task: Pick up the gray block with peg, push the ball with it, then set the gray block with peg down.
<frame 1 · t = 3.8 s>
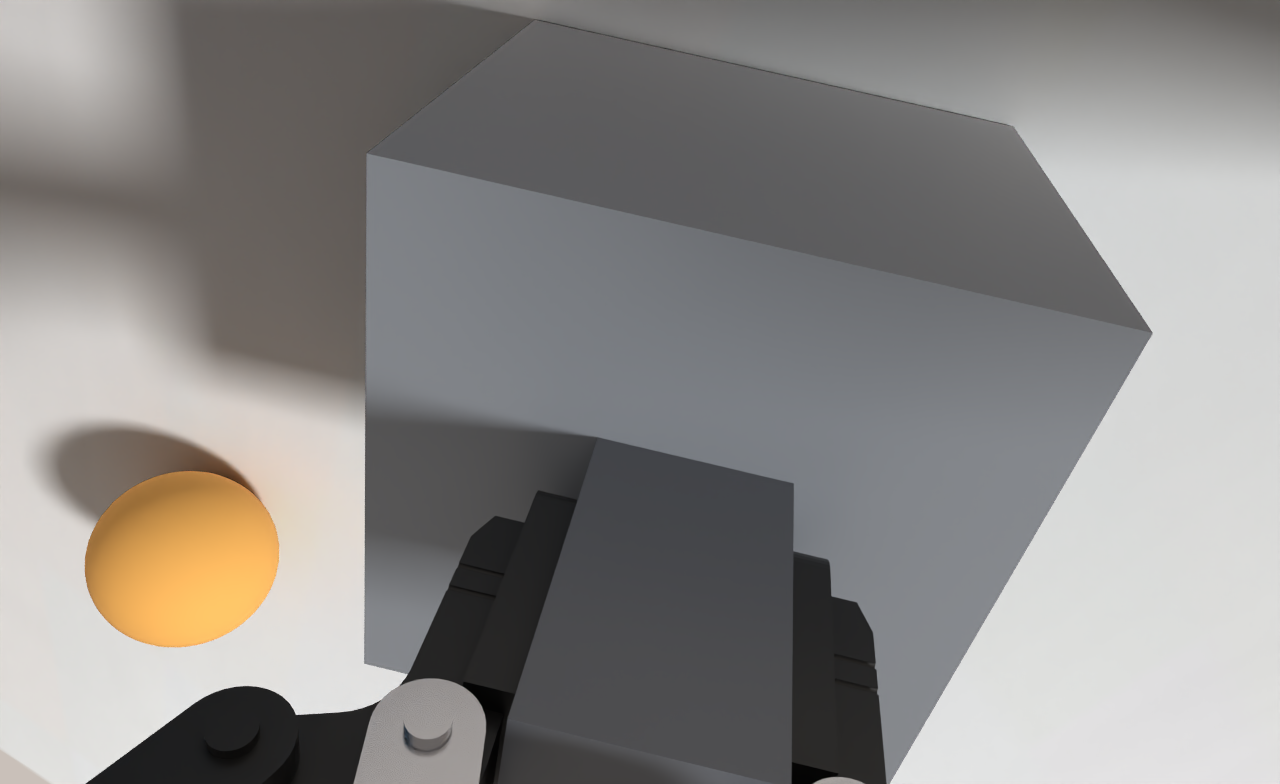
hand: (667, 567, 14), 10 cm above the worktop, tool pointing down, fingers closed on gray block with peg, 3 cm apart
gray block with peg: (717, 287, 21), on the worktop, touching gripper
ball: (186, 557, 26), on the worktop
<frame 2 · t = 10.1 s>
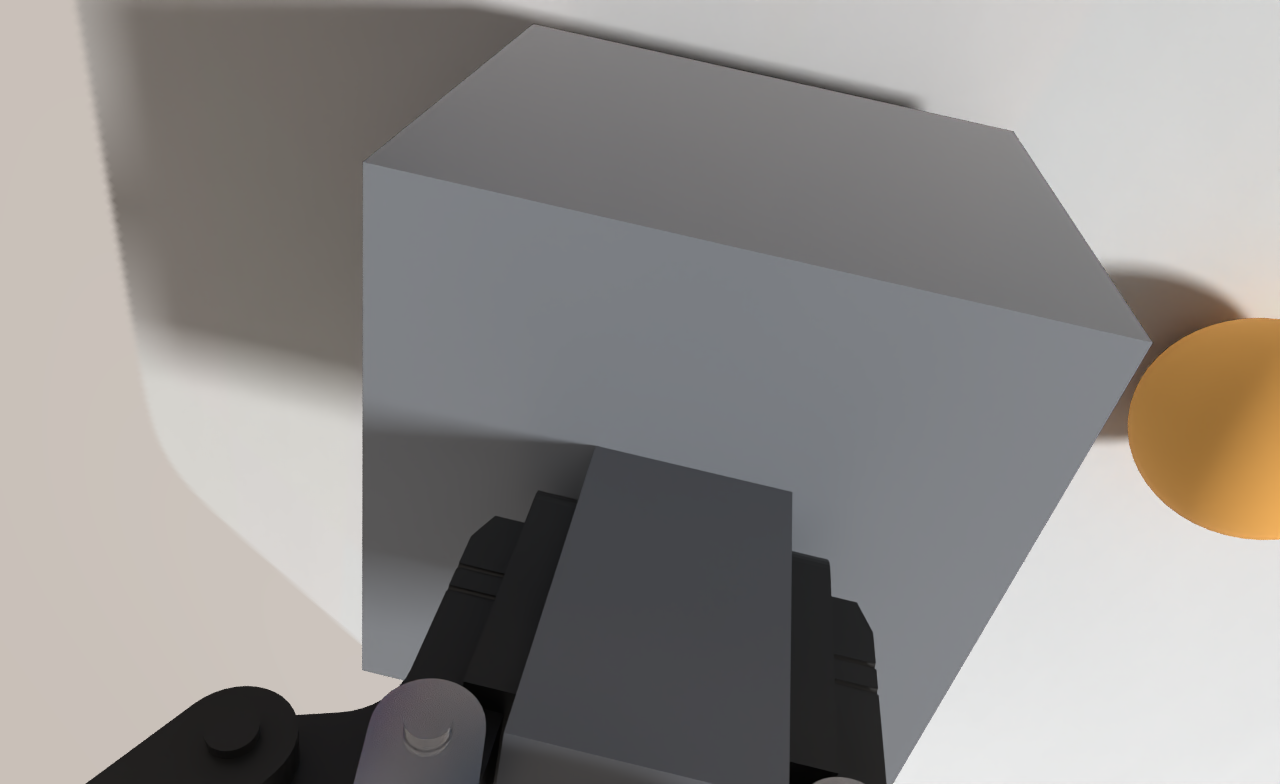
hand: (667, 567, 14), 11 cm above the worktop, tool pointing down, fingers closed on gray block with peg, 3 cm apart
gray block with peg: (716, 291, 21), point 2 cm above the worktop, touching gripper
ball: (1253, 428, 20), on the worktop
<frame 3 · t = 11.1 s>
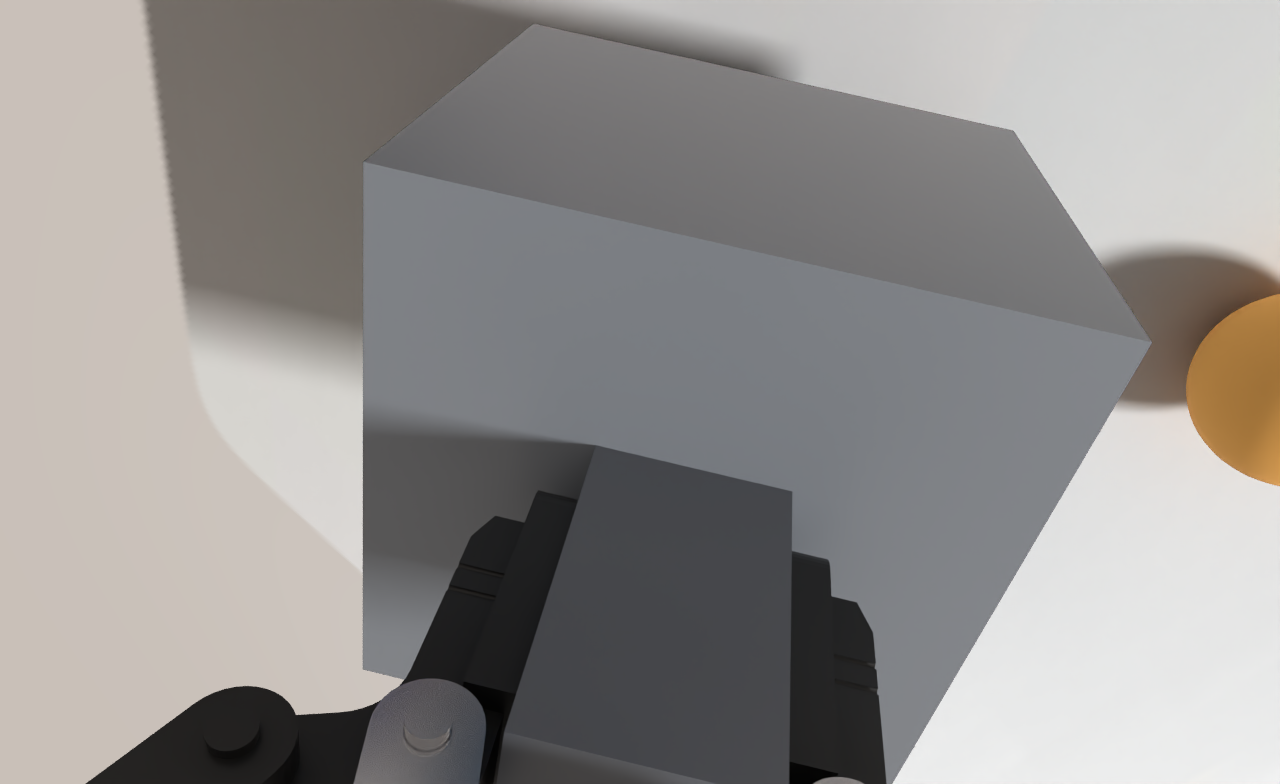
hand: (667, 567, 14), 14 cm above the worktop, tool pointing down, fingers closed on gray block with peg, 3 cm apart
gray block with peg: (717, 291, 21), point 4 cm above the worktop, touching gripper
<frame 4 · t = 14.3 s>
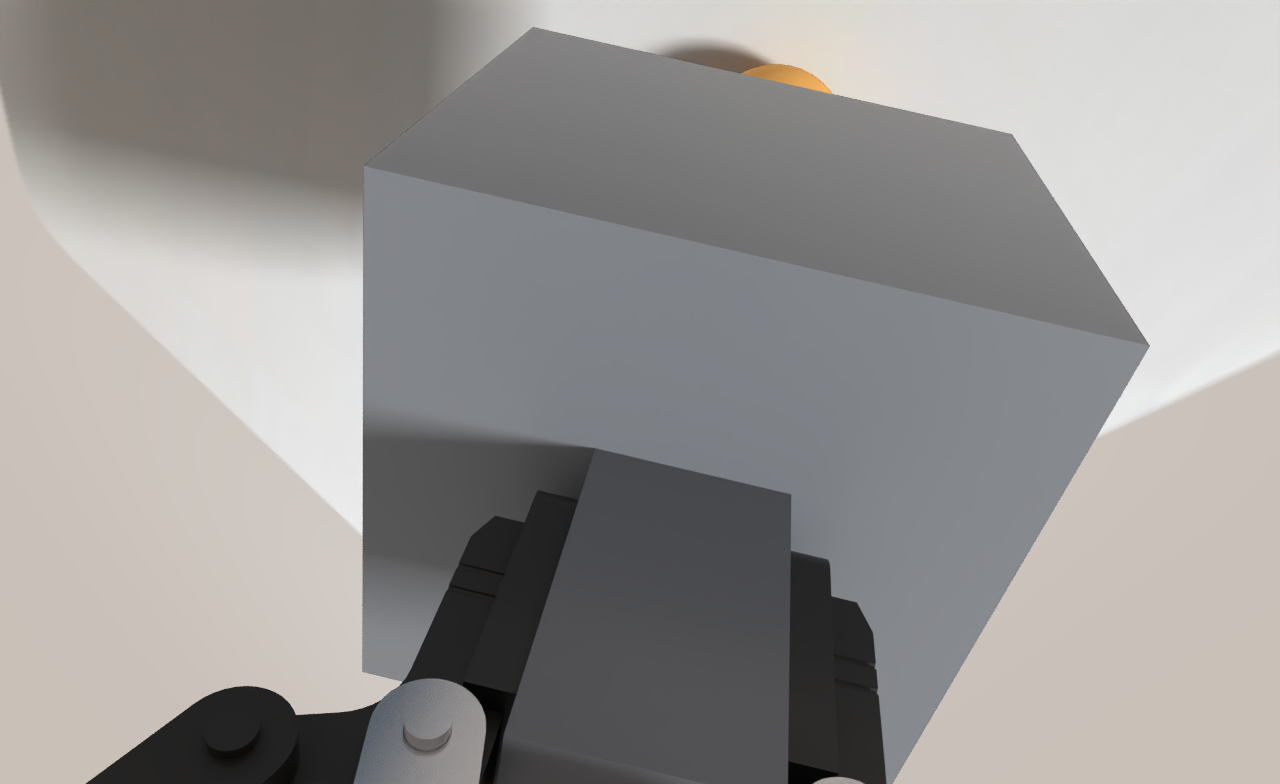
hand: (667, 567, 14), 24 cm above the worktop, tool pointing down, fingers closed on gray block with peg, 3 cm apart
gray block with peg: (716, 293, 21), point 15 cm above the worktop, touching gripper
ball: (772, 140, 31), on the worktop
when the fingers open (10 cm above the worktop, at t = 17.2 s): gray block with peg stays where it is, on the worktop.
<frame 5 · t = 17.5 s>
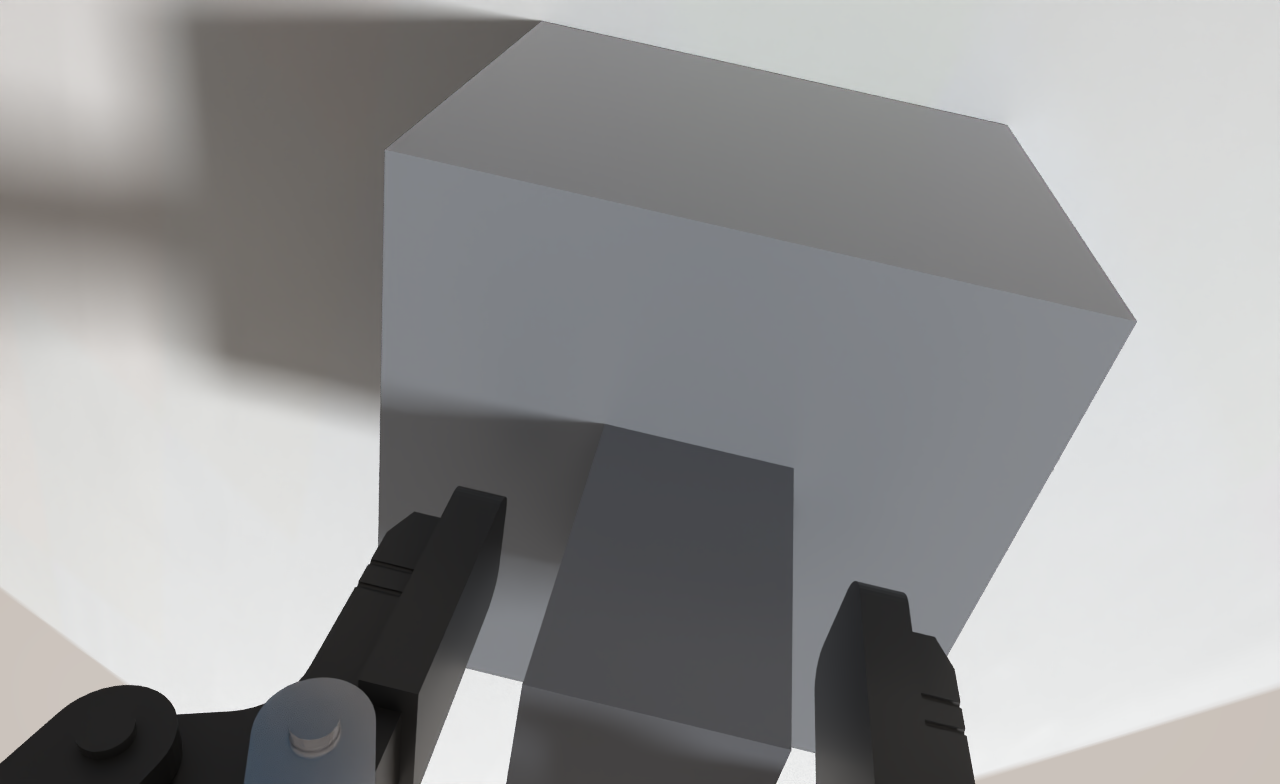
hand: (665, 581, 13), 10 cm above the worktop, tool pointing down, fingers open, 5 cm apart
gray block with peg: (719, 282, 22), on the worktop
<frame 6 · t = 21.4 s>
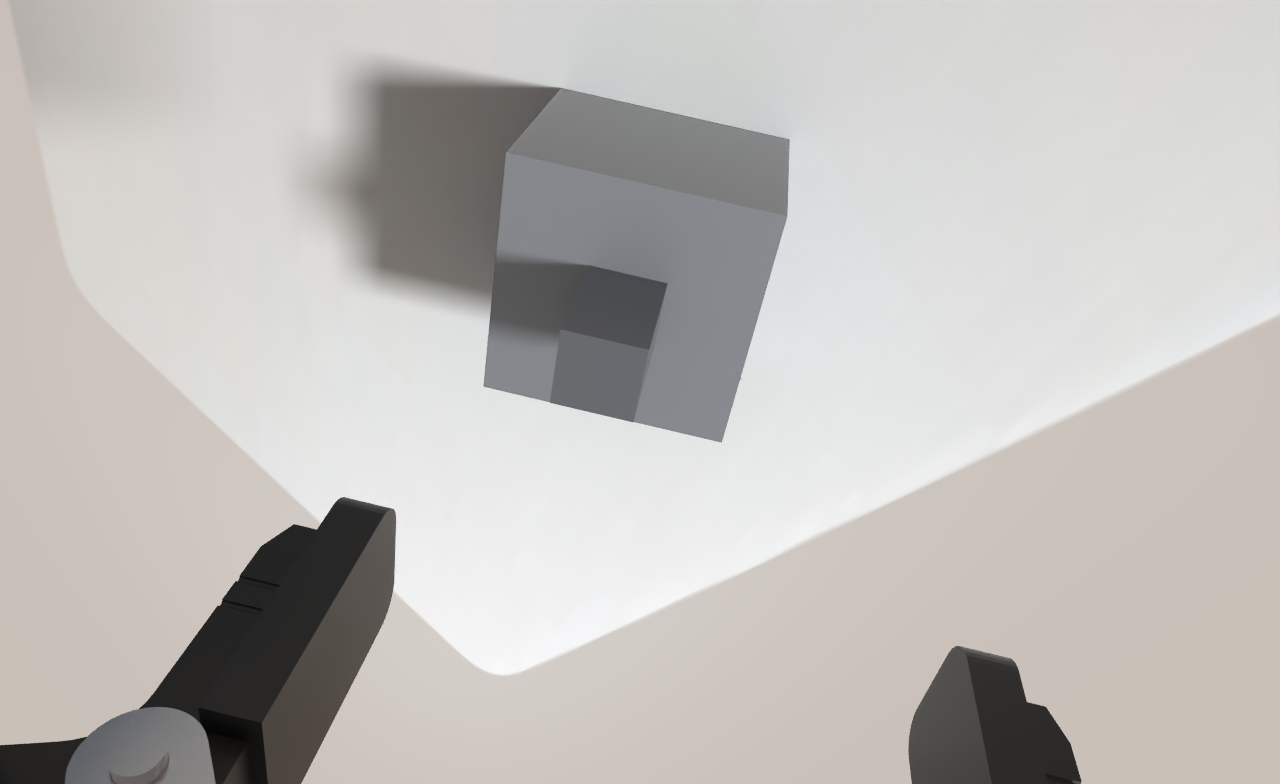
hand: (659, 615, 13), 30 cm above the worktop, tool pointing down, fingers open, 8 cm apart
gray block with peg: (653, 221, 42), on the worktop
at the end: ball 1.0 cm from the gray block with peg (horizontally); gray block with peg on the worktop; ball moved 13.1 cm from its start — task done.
